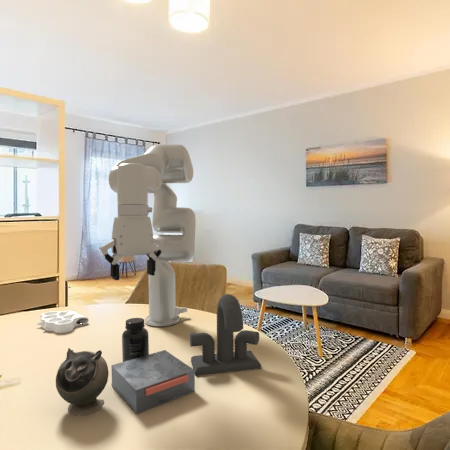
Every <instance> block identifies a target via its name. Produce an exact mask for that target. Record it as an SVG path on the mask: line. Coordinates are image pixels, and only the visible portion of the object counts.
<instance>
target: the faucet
mask: <svg viewBox="0 0 450 450" xmlns="http://www.w3.org/2000/svg"><path fill="white" fill-rule="evenodd" d="M216 307H217V309H216V342H215V339H214V338H213V336H212V335H211V334H209V333H208V332H192V333H191V332H190V333H189V346H190V347H202V348H201V352H202V353H201V354H199V355H193V356H191V357H190V363H191V366H192V369H194V370H195V377H198V376H199V377H200V376H206V375H208V376H209V375H214V374H215V375H216V374H225V373H233V372H234V373H235V372H242V371H243V372H244V371H251V370H261V369H262V364H261V363H260V361H259V360H258V358H257V357H256V356H255V354H254V353H253V352H252V350H250V349H249V350H247V349H248V344H249V345H255V346H257V345H258V344H259V342H260V332H259V331H255V330H254V331H253V330H244V319H243V312H242V308H241V305H240V302H239V299H237V297H236V296H234V295H233V294H229V293H226V294H224V295H222V296H221V297H220V298H219V299H218V302H217V306H216ZM234 333H236V335H235V338H234ZM215 343H216V345H215ZM215 346H216V347H215Z"/></svg>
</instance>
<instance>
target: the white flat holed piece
mask: <svg viewBox="0 0 450 450" xmlns="http://www.w3.org/2000/svg"><path fill="white" fill-rule="evenodd" d="M78 321H79V322H80V323H82V324H83V325H82V324H80V323H79V322H78ZM78 323H79V324H78ZM88 323H89V318H88V317H87V316H84V315H83V314H81V313H78V312H76V311H75V310H65V311H64V310H63V311H57V310H54V311H46V312H43V313H41V314H40V321H39V322H37V323H36V325H38V326H41V329H44V330H45V331H47V332H54V333H55V334H65V333H68V332H72V331H73V330H74V329H73V328H76V327H78V326H79V325H80V326H84V325H86V324H88ZM75 326H76V327H75ZM80 326H79V327H80Z"/></svg>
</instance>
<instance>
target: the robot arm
mask: <svg viewBox="0 0 450 450" xmlns="http://www.w3.org/2000/svg"><path fill="white" fill-rule="evenodd" d="M193 178H194V166H193V163H192V160H191V157H190V153H189V151H188V149H187V148H186V146H184V145H182V144H155V145H153V146H150V148H148V150H146V152H145V153H142V154H140V155H136V156H133V157H130V158H129V157H128V158H125V159H122V160H120V161H118V162H116V164H114V166H112V168H111V169H110V172H109V174H108V184H109V188H110V189H111V190H112V191H113V192H114V193H117V216H116V217H113V218H114V219H113V224H112V231H111V233H112V234H111V240H110V241H108V242H106V243H105V244H103V245H101V246H100V247H99V252H100V254H101V255H102V256H103V257H102V258H104V260H105V261H107V262H108V263H109V264H110V266H109V267H110V277H111V278H112V279H113V280H114V281H119V280H120V265H119V264H118V262H119V261H120V260H121V258H123V257H132V256H133V257H135V256H144V255H146V272H147V275H148V314H149V315H148V316H146V317H144V324H145V325H147V326H151V327H169V326H174V325H175V324H176V325H177V324H178V323H179V322H180V320H181V319H180V318H181V317H180V314H185V313H187V312H188V308H187V307H186V306H185V307H181V306H176V272H175V270H174V268H173V266H172V265H171V264H170V263H169V262H189V261H191V260H193V259H194V255H195V249H196V248H195V247H196V227H197V226H196V225H197V224H196V222H197V221H196V220H197V219H196V214H195V211H194V210H193V209H192V208H190V207H177V206H178V205H177V204H178V197H177V195H176V193H175V191H174V190H173V189H172V188H170V186H169V185H168V184H188V183H190V182H192V181H193ZM148 194H153V196H154V200H153V202H154V203H153V207H150V206H149V204H148V202H149V201H148V197H149V195H148ZM149 213H152V220H151V217H150V216H149ZM153 231H155V233H160V234H154V232H153ZM161 233H162V234H161ZM109 249H111V252H112V255H111V254H109V252H108V250H109Z"/></svg>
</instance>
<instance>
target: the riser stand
mask: <svg viewBox="0 0 450 450" xmlns="http://www.w3.org/2000/svg"><path fill="white" fill-rule="evenodd" d="M195 377H196V376H195V370H194V369H193V367H190V365H188V364H186V363H185V362H183V360H180V359H179V358H177V357H176V356H175V355H173V354H172V353H170V352H169V351H167V350H166V349H164V350H160V351H157V352H153V353H149V355H146V356H142V357H139V358H135V359H132V360H128V361H125V362H123V361H122V362H117V363H115V364H111V387H112V388H113V389H114V390H115V392H116V393H117V394H118V395H119V396H120V397H121V398H122V400H123V401H124V402H125V403H126V404H127V406H129V408H131V410H132V411H133V412H134V413H135V415H138V414H140V413H143V412H146V411H148V410H151V409H153V408H157V407H158V406H161V405H163V404H164V405H165V404H166V403H169V402H172V401H174V400H177V399H179V398H181V397H182V398H183V397H184V396H187V395H190V394H192V393H194V392H195V391H196V386H195V384H196V383H195V381H196V380H195V379H196V378H195Z"/></svg>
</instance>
